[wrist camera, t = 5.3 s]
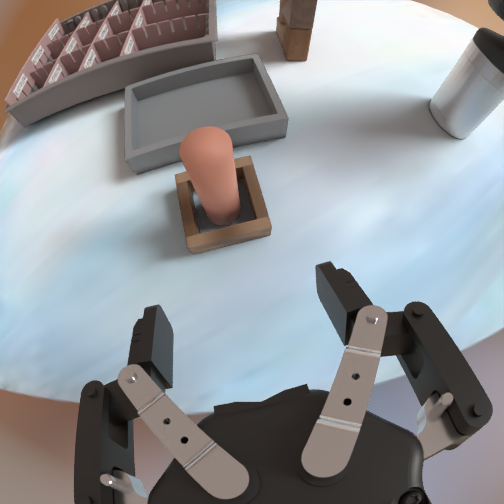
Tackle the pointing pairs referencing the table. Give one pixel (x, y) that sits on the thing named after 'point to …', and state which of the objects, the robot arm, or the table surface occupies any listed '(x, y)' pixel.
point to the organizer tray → (111, 52)
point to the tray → (200, 109)
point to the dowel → (212, 172)
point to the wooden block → (296, 27)
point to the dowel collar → (230, 233)
